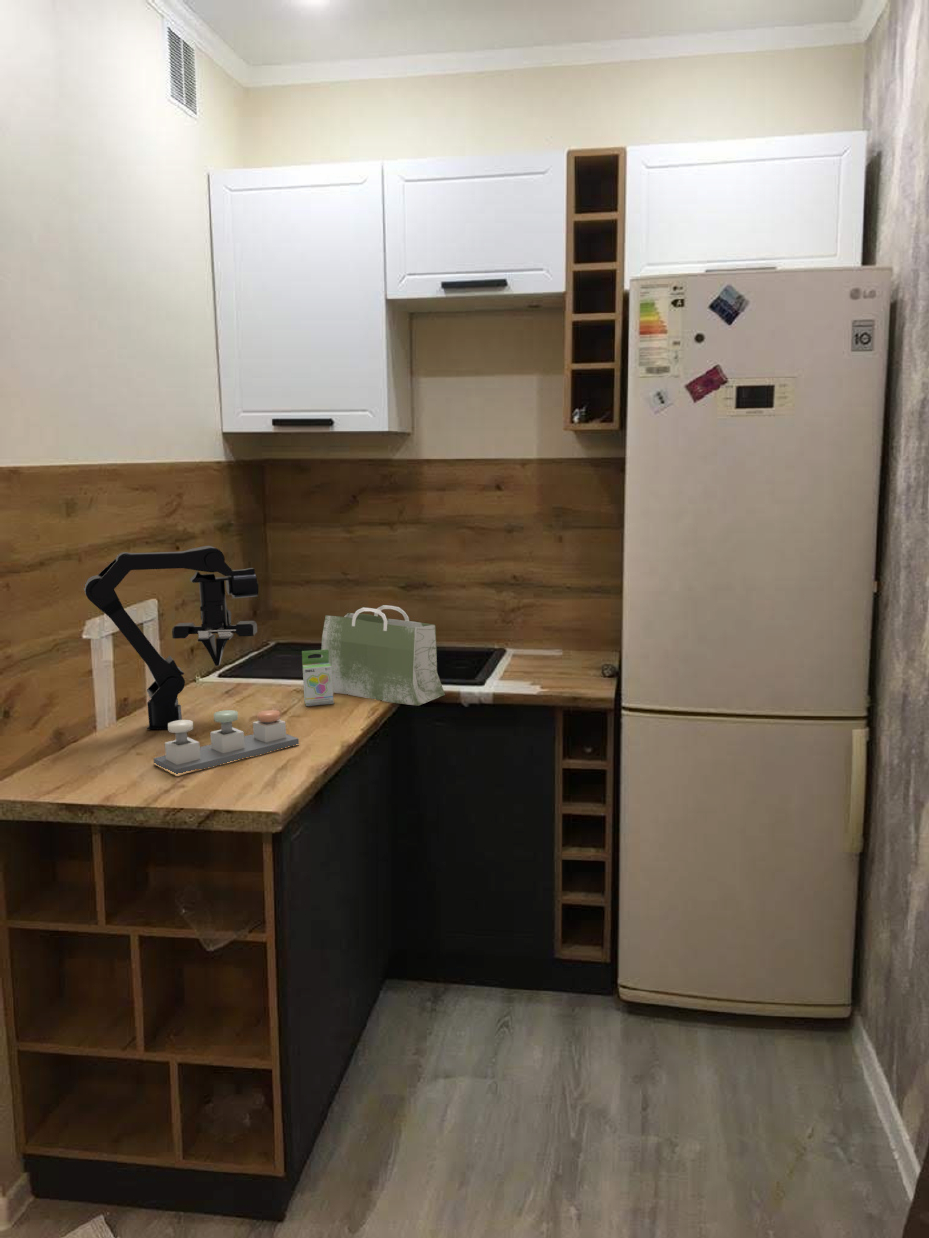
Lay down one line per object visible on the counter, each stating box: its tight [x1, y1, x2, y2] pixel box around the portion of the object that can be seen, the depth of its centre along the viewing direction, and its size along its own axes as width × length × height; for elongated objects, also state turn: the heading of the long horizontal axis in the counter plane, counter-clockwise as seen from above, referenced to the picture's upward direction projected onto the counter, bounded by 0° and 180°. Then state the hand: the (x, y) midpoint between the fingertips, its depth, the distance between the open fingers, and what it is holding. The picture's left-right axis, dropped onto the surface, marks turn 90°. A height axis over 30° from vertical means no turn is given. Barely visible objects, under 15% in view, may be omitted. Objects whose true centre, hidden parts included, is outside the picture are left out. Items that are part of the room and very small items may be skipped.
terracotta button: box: [256, 709, 281, 725], centre depth 202 cm, size 5×5×5 cm
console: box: [153, 719, 300, 774], centre depth 196 cm, size 10×28×5 cm, turn 132°
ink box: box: [301, 649, 335, 707], centre depth 235 cm, size 7×4×13 cm, turn 106°
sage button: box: [213, 709, 239, 735], centre depth 195 cm, size 5×5×5 cm
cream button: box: [167, 719, 194, 746], centre depth 189 cm, size 5×5×5 cm
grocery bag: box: [320, 604, 446, 707], centre depth 244 cm, size 32×14×23 cm, turn 58°
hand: (217, 665), depth 222 cm, fingers closed
